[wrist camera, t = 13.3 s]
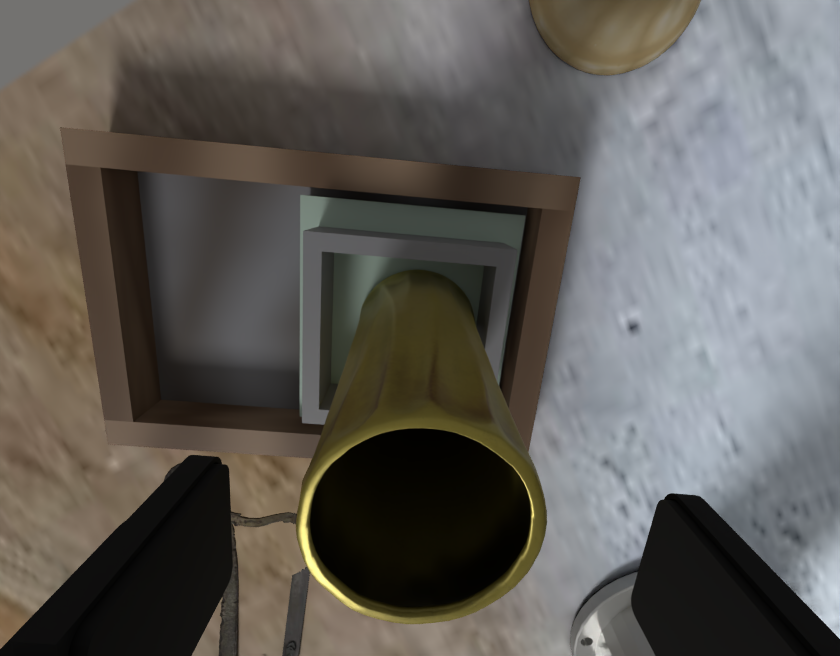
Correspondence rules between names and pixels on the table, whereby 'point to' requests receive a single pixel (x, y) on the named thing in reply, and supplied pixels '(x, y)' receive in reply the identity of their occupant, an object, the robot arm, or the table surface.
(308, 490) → the vase
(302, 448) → the open wooden box
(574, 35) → the hand bell
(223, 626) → the hacksaw
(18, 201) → the table surface
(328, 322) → the square serving tray
